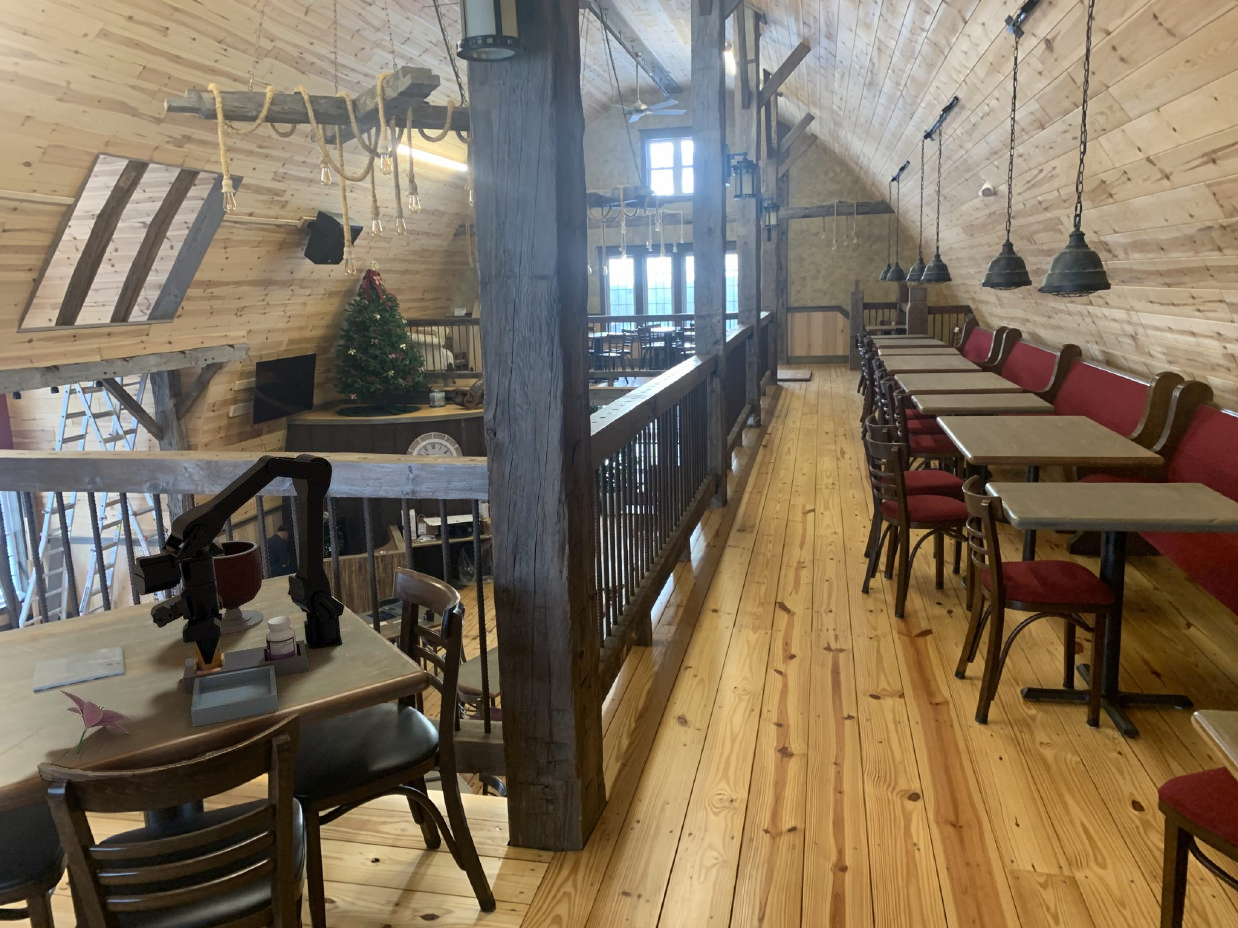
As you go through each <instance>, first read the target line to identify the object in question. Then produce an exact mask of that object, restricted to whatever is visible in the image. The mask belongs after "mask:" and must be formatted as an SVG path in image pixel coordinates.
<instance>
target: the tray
mask: <svg viewBox="0 0 1238 928" xmlns="http://www.w3.org/2000/svg"><path fill="white" fill-rule="evenodd" d="M276 679H277V678H276V677H275V669H274V665H271V666H266V667H260V668H254V669H248V670H242V671H236V672H231V673H225V674H219V675H213V676H207V677H202V678H196V679H195V681H194V690H193V692H192V700H191V708H190V709H191V710H190V712H191V720H192V728H193V727H200V726H205V725H209V724H210V725H211V724H216V723H222V722H226V721H232V720H236V719H242V718H246V717H247V718H248V717H252V716H253V717H254V716H258V715H264V714H268V713H269V714H270V713H274V712H279V704H278V703H279V702H278V690H277V681H276Z"/></svg>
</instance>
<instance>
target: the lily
mask: <svg viewBox="0 0 1238 928" xmlns="http://www.w3.org/2000/svg"><path fill="white" fill-rule="evenodd" d="M59 691H60V692H61V693H62V694H63V695H65V696H66V697H67V698H69V699H70V700H72V702H73V703H74V704H75V705H76V706H77V707H74V706H72V707H69V708H66V711H69V712H72V713H75V714H78V715H81V717H82V720H83V723H84V730H83V732H82V734H81V737H80V740H79V743H78V746H77V750H76V755H78V754H80V749H81V746H82V743H83V739H84V737H85V735H86V733H87V731H88V729H90V728H95V727H102V728H107V727H111V728H115V729H117V730H118V731H121V732H123V733H125V734H127V735H130V732H129V731H127V730H126V729H125V728H124V727H123V726H121V725H119V724H118V723H119V722H124V721H130V720H131V721H132V718H130V717H129V716H128V715H125V714H123V713H121V712H117V711H115V710H111V709H104V708H105V706H102V707H100V706H101V705H99V706H98V705H97V704H96V703H94V702H93V701H91V700H90V701H89V700H87V701H84V700H83V699H82V698H81V697H79V696H77V695H75V694H72V693H71V692H68V691H64V690H60V689H59Z"/></svg>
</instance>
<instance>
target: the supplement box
mask: <svg viewBox="0 0 1238 928" xmlns="http://www.w3.org/2000/svg"><path fill="white" fill-rule="evenodd" d="M195 648H196V649H195V650H196V658H197V661H198V670H199V671H200V670H206V669H212V668H218V667H222V661H221V654H222V651H221V643H220V640H219V641H218V644H217V647H216V650H215V654H214V657H213V660H212V663H211V664H205V663H204V660H203V658H202V656H201V653H200V651H199V648H198V646H197V644H196V643H195Z"/></svg>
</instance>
